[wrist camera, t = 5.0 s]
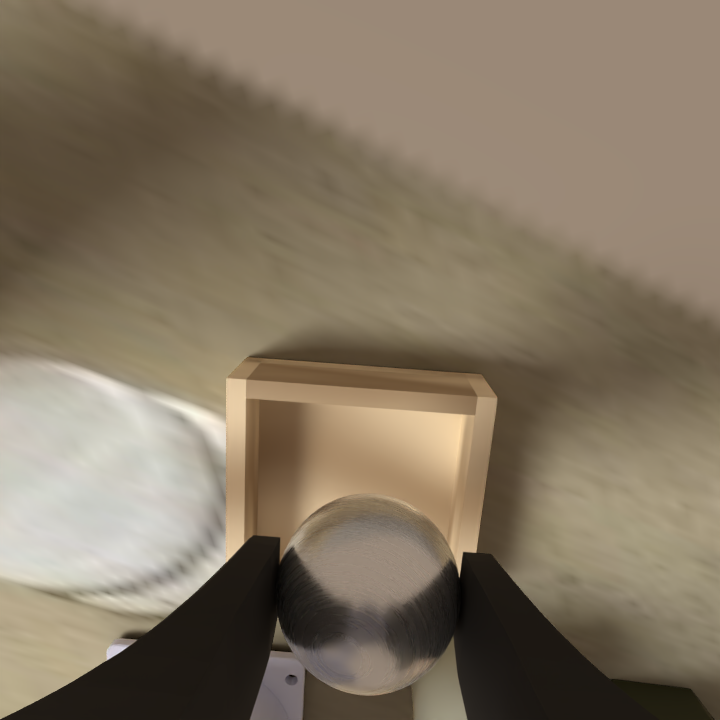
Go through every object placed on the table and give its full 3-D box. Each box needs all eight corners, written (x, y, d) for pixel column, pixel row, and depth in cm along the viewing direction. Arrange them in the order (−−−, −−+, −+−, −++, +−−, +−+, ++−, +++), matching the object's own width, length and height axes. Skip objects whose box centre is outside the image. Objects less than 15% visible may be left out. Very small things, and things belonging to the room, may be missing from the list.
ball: (461, 617, 13) (446, 770, 10) (313, 590, 14) (246, 718, 11) (471, 474, 12) (459, 583, 9) (311, 455, 13) (237, 544, 10)
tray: (455, 577, 20) (465, 627, 18) (244, 560, 20) (225, 607, 18) (481, 374, 18) (498, 398, 16) (246, 357, 18) (226, 378, 16)
